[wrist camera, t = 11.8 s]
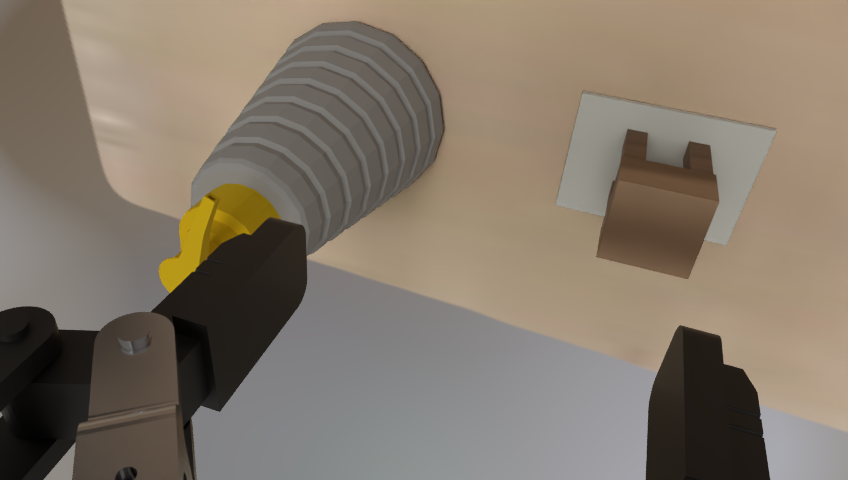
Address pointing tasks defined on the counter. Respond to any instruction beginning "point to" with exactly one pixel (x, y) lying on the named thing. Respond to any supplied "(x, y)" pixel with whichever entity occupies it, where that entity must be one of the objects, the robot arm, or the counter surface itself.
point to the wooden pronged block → (659, 209)
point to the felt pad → (660, 153)
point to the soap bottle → (315, 143)
